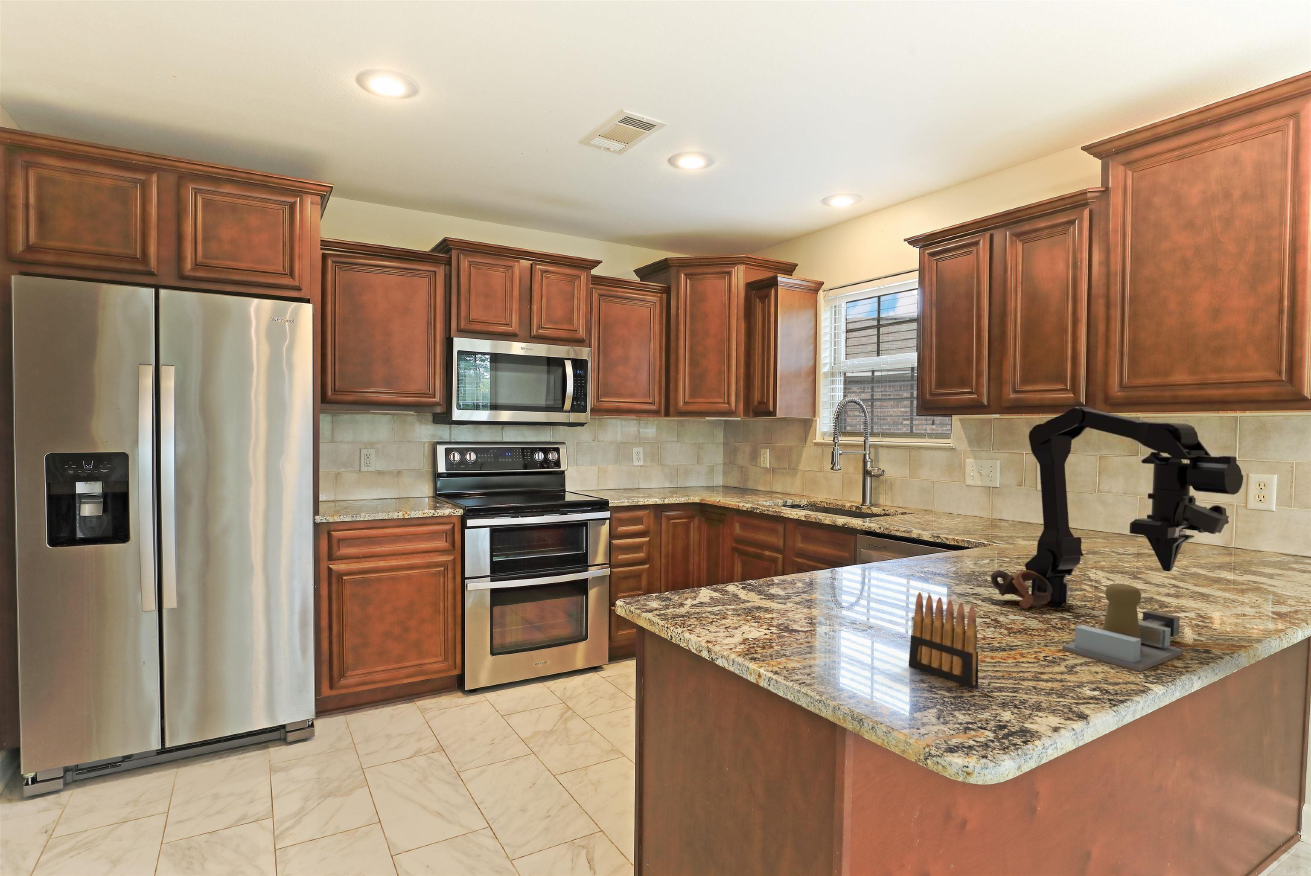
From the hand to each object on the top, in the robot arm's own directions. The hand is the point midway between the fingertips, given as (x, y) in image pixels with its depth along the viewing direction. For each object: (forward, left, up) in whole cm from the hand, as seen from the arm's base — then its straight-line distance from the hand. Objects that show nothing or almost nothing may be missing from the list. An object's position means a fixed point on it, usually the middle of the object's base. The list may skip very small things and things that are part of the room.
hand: (1167, 570), depth 133 cm
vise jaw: (-2, -9, -11) cm, 14 cm away
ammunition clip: (-25, -53, -12) cm, 60 cm away
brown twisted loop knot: (-26, +4, -12) cm, 29 cm away
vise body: (-4, -15, -12) cm, 20 cm away
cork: (-5, -19, -12) cm, 23 cm away
